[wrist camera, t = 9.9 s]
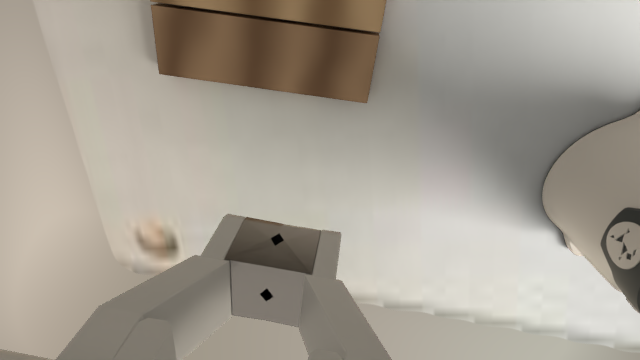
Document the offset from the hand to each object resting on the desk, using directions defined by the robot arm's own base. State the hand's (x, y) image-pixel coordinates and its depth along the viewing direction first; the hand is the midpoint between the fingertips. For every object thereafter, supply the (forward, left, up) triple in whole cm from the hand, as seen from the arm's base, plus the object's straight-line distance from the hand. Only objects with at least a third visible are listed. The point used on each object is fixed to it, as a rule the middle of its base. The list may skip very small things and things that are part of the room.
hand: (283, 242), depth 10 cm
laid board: (+7, +2, -28) cm, 29 cm away
